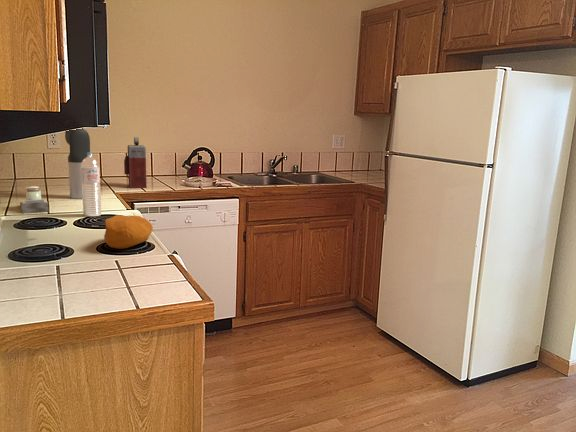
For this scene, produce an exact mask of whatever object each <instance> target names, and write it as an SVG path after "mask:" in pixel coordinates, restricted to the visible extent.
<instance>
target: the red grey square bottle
mask: <svg viewBox="0 0 576 432" xmlns="http://www.w3.org/2000/svg"><path fill="white" fill-rule="evenodd" d="M139 141H140V139H139V136H134V137H133V144H128V145H127V155H125V156H124V160H123V165H124V167H123V169H124V173H123V174H124V175H127V176H128V188H129V189H147V186H148V185H147V154H146V153H147V150H146V149H147V148H146V146H145V145H144V144H143V145H142V144H140V143H139Z"/></svg>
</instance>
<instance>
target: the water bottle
mask: <svg viewBox="0 0 576 432" xmlns="http://www.w3.org/2000/svg"><path fill="white" fill-rule="evenodd" d="M87 155H88V157H86V158H85V159H84V160H83V161H82V162H81V171H82V213H83V216H84V217H90V218H91V217H99V216H100V217H101V215H102V201H101V200H102V198H101V197H102V196H101V195H102V194H101V178H100V176H101V175H100V168H101V167H100V162H99V161H98V159H96V158H95V157H93V152H90V153H87Z"/></svg>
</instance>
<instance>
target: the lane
mask: <svg viewBox="0 0 576 432" xmlns="http://www.w3.org/2000/svg"><path fill="white" fill-rule="evenodd" d="M19 205H20V210H21V212H22V214H35V213H36V214H37V213H38V212H39V213H49V202H48V201H44V202H36V203H25V202H23V201H21V202H19Z"/></svg>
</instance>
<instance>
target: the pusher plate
mask: <svg viewBox="0 0 576 432" xmlns="http://www.w3.org/2000/svg"><path fill="white" fill-rule="evenodd" d="M36 202H45V199H42V198H41V200H26V199H25V200H24V203H36Z"/></svg>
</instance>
